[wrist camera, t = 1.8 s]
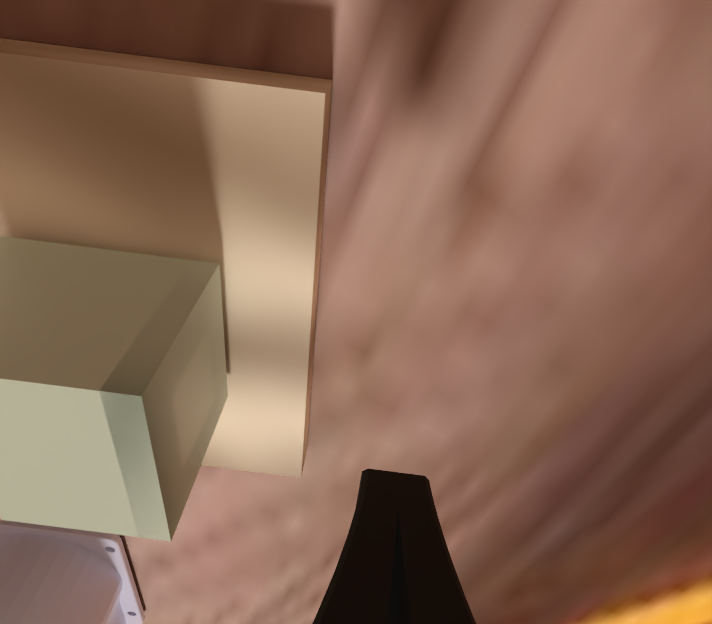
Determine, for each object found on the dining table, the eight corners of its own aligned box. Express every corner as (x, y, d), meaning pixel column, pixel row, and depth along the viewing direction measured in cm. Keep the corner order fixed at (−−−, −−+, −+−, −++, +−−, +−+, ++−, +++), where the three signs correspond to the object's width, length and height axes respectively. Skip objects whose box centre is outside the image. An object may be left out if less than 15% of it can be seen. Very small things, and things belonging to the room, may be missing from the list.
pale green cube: (227, 396, 16) (169, 545, 12) (45, 373, 16) (-75, 514, 12) (219, 263, 14) (139, 400, 9) (-3, 235, 14) (-181, 359, 9)
